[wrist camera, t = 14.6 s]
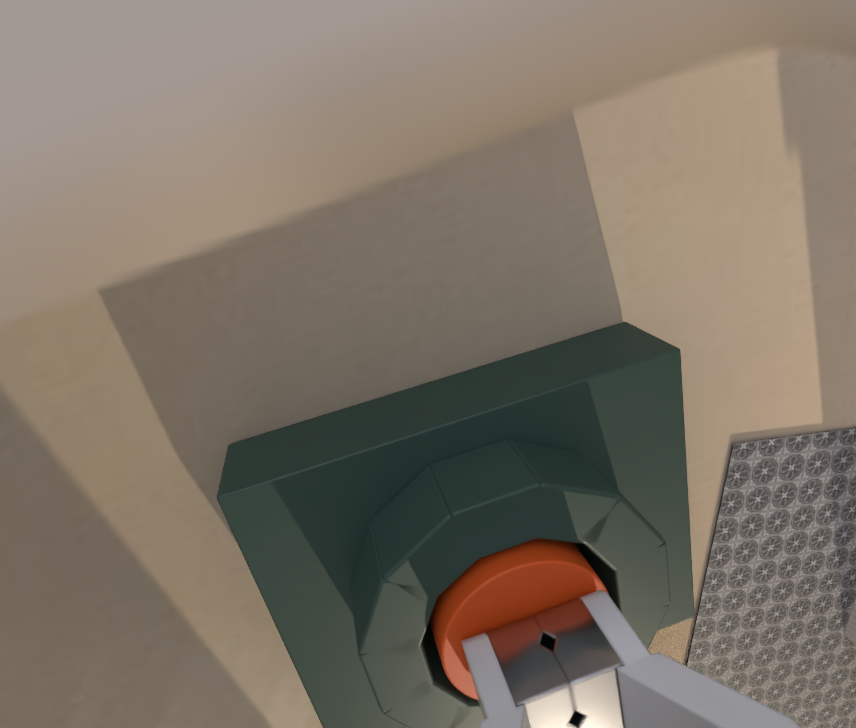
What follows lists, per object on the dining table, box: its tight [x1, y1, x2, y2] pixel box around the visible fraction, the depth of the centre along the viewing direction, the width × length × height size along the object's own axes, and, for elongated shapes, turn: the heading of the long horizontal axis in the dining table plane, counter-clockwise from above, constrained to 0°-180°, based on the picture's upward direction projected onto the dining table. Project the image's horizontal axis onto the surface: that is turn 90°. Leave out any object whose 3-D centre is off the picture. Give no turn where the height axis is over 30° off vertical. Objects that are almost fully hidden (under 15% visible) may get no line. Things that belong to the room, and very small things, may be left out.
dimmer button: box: [429, 539, 609, 700], centre depth 12 cm, size 4×4×2 cm
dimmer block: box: [217, 322, 695, 728], centre depth 13 cm, size 10×8×4 cm
